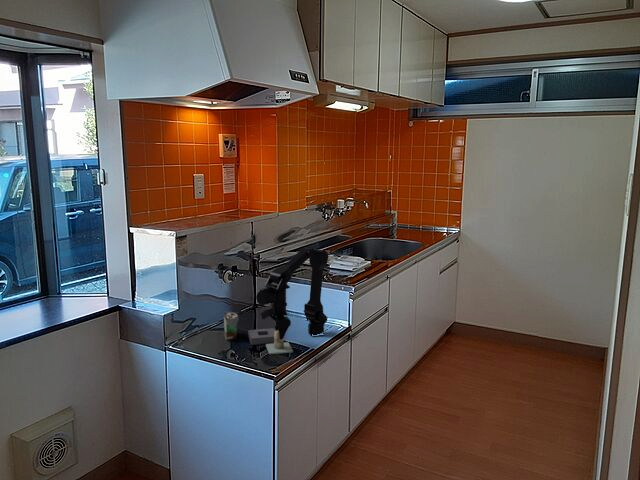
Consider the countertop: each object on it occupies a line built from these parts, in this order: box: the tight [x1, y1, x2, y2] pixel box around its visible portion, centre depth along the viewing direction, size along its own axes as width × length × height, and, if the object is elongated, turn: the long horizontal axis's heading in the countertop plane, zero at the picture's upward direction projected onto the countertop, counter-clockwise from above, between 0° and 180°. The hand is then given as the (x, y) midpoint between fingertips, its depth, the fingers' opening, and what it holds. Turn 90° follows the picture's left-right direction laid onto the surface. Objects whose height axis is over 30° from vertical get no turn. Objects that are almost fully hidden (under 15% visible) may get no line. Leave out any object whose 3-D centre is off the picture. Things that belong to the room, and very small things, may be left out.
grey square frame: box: [247, 327, 276, 346], centre depth 222 cm, size 12×10×3 cm
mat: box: [265, 341, 294, 355], centre depth 212 cm, size 10×10×1 cm
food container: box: [223, 311, 240, 341], centre depth 224 cm, size 12×6×10 cm, turn 16°
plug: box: [274, 330, 285, 349], centre depth 211 cm, size 4×4×7 cm
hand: (279, 335), depth 211 cm, fingers open, 9 cm apart
